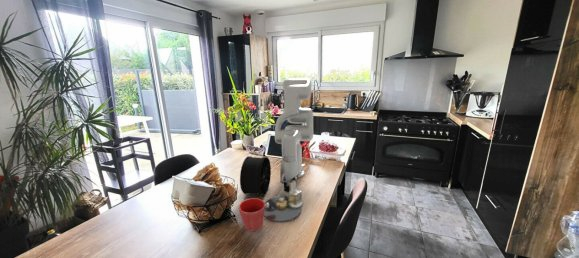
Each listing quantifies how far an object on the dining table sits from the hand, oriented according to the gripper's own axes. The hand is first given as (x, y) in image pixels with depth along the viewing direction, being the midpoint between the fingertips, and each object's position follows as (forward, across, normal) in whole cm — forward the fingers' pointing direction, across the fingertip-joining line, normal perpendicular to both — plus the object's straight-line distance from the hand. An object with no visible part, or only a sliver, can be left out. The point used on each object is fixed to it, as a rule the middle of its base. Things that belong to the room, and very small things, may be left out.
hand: (290, 189), depth 121 cm
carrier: (+2, +14, +6) cm, 15 cm away
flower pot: (+3, +30, +4) cm, 30 cm away
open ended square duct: (+2, 0, 0) cm, 2 cm away
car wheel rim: (+3, +10, -15) cm, 18 cm away
